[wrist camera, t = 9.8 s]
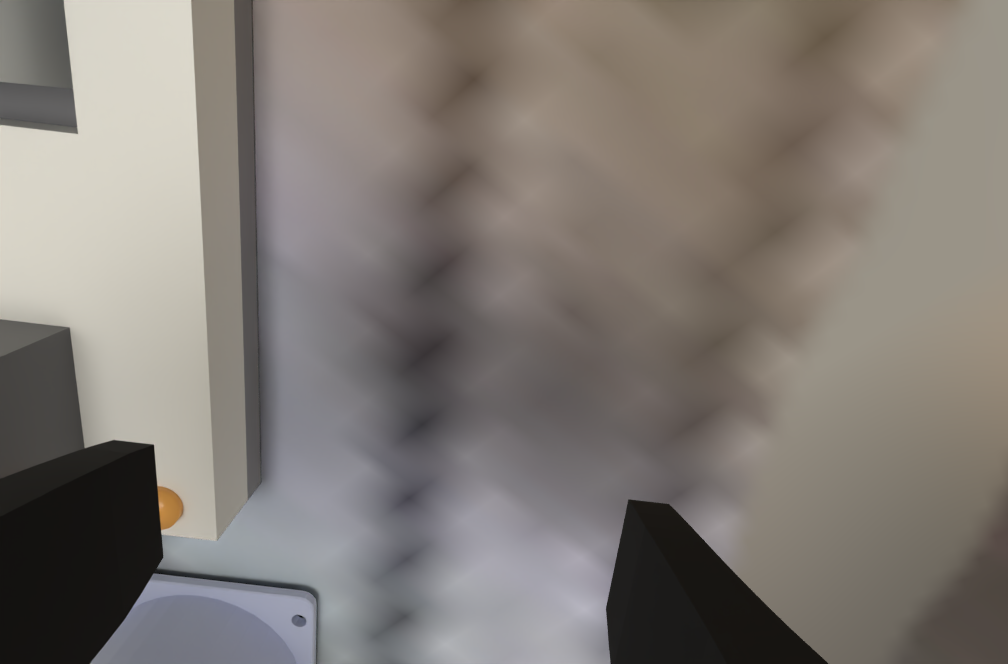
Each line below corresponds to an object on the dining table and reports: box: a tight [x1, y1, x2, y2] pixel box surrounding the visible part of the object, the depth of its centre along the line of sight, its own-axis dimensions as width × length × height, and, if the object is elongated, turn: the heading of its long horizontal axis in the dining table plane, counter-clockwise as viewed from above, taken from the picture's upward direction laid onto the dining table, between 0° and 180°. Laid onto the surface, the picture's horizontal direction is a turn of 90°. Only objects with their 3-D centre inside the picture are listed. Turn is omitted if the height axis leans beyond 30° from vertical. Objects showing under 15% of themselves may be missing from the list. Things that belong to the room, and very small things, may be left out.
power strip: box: [0, 0, 261, 541], centre depth 16 cm, size 18×10×3 cm, turn 174°
